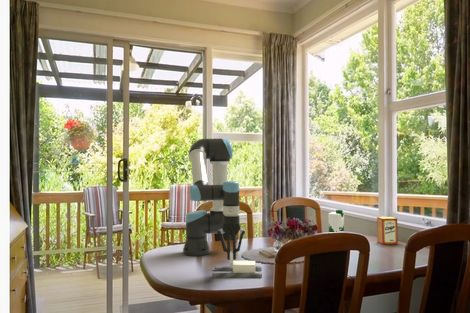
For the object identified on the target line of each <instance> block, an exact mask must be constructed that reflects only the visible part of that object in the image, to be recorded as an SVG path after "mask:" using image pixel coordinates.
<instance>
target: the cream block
mask: <svg viewBox="0 0 470 313" xmlns="http://www.w3.org/2000/svg"><path fill="white" fill-rule="evenodd" d="M255 266H256V260H234V262H233V271H232V273H256V271H255Z"/></svg>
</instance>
